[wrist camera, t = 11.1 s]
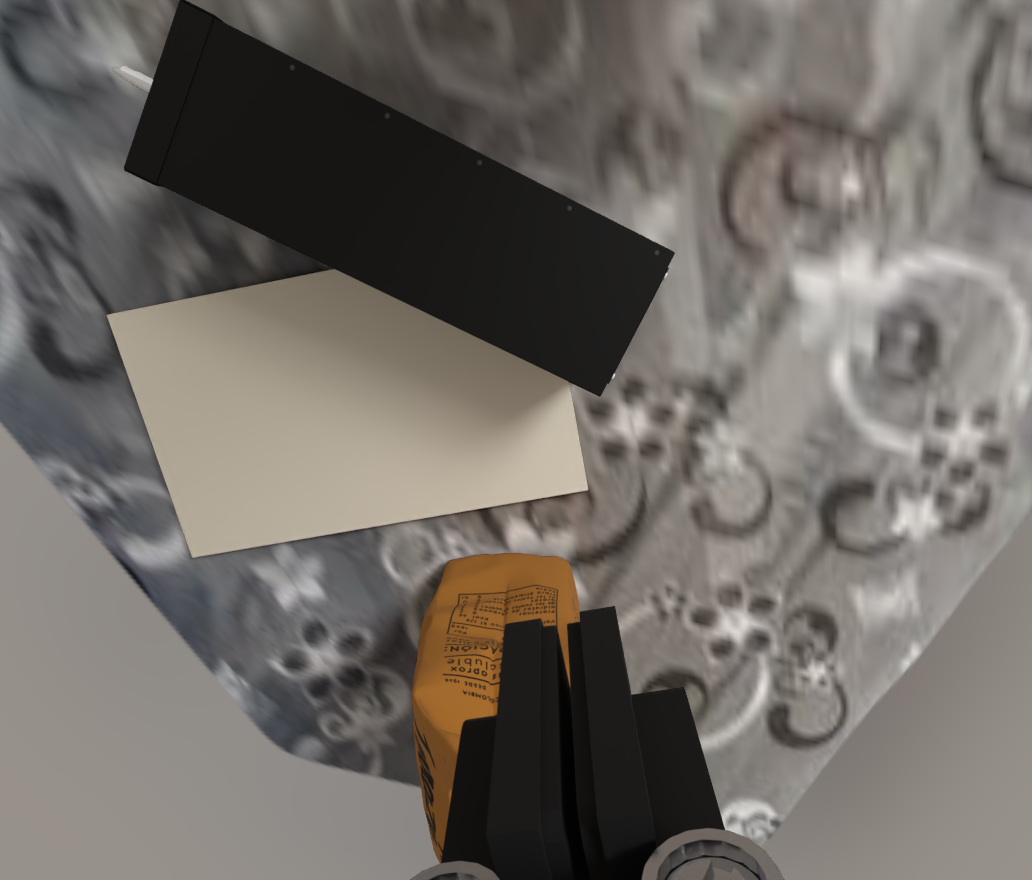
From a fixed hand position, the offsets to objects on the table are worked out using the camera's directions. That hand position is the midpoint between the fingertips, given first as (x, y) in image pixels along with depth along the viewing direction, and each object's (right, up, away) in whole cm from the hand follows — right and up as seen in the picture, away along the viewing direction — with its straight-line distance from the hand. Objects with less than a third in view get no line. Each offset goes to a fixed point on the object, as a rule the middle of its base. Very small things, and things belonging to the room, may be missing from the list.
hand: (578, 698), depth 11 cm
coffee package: (-2, -9, +40) cm, 41 cm away
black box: (+5, +10, +29) cm, 31 cm away
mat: (-11, +6, +35) cm, 37 cm away
